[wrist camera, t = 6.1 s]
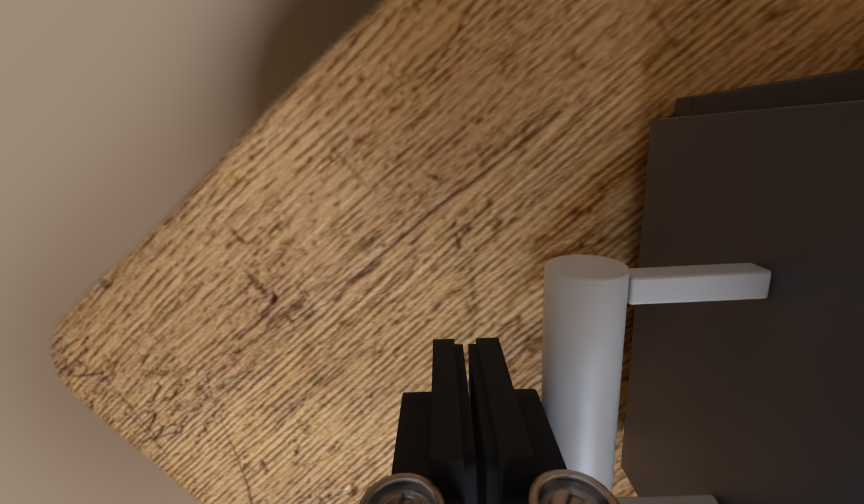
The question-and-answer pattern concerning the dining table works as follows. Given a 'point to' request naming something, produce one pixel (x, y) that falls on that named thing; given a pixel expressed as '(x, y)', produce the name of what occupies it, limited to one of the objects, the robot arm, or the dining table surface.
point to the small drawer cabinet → (778, 94)
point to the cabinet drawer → (724, 318)
